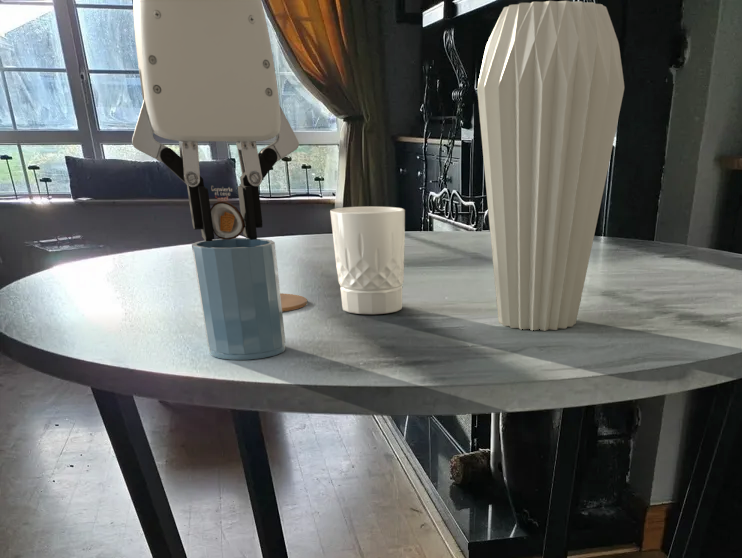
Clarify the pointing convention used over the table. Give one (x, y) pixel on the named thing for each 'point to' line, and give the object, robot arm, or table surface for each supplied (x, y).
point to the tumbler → (240, 297)
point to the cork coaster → (292, 302)
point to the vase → (547, 152)
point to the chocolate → (226, 218)
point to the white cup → (369, 257)
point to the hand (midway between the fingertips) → (229, 236)
